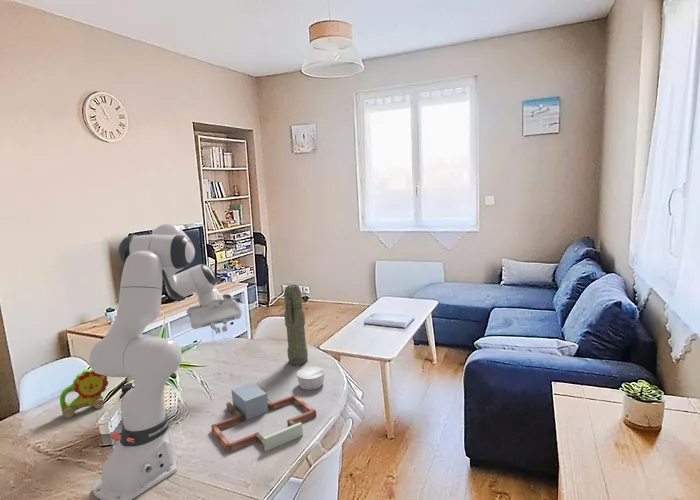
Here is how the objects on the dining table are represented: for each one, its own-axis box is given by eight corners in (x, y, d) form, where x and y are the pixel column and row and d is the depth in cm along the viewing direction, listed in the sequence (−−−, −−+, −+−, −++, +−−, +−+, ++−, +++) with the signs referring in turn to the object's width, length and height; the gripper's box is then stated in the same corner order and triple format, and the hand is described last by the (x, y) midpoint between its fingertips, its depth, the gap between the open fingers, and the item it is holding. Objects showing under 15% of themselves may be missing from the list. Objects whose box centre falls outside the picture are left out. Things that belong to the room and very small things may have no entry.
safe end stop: (264, 449, 132) (263, 437, 131) (301, 433, 139) (300, 422, 138) (266, 451, 131) (264, 439, 130) (303, 435, 138) (302, 423, 137)
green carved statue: (285, 367, 191) (278, 290, 185) (291, 356, 202) (285, 283, 197) (305, 366, 190) (299, 289, 184) (310, 356, 201) (304, 282, 196)
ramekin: (321, 392, 166) (320, 379, 165) (293, 390, 168) (292, 378, 168) (328, 378, 177) (327, 366, 176) (302, 378, 179) (301, 366, 179)
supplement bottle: (128, 424, 151) (123, 391, 149) (118, 418, 155) (114, 387, 154) (147, 415, 157) (142, 383, 155) (137, 410, 161) (133, 379, 159)
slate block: (233, 407, 159) (231, 389, 158) (253, 399, 164) (251, 382, 162) (247, 420, 149) (245, 401, 148) (268, 411, 154) (266, 393, 153)
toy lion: (63, 420, 157) (56, 380, 154) (62, 414, 161) (55, 375, 159) (112, 405, 166) (106, 367, 163) (110, 399, 170) (104, 363, 168)
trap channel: (201, 417, 153) (200, 411, 153) (281, 388, 170) (280, 384, 170) (235, 462, 127) (234, 455, 126) (325, 423, 144) (324, 417, 144)
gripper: (186, 304, 170) (196, 334, 163) (236, 293, 181) (247, 321, 175) (184, 312, 174) (194, 342, 168) (233, 302, 186) (244, 329, 179)
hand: (221, 331), depth 171 cm, fingers closed
